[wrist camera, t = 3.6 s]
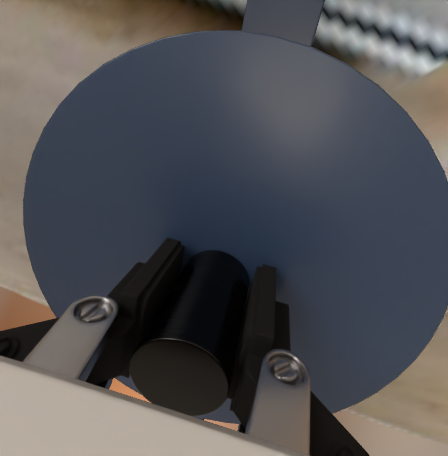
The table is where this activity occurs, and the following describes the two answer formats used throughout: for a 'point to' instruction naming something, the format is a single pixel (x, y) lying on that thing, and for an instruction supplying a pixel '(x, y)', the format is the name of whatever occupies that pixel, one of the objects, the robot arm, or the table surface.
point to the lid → (244, 211)
